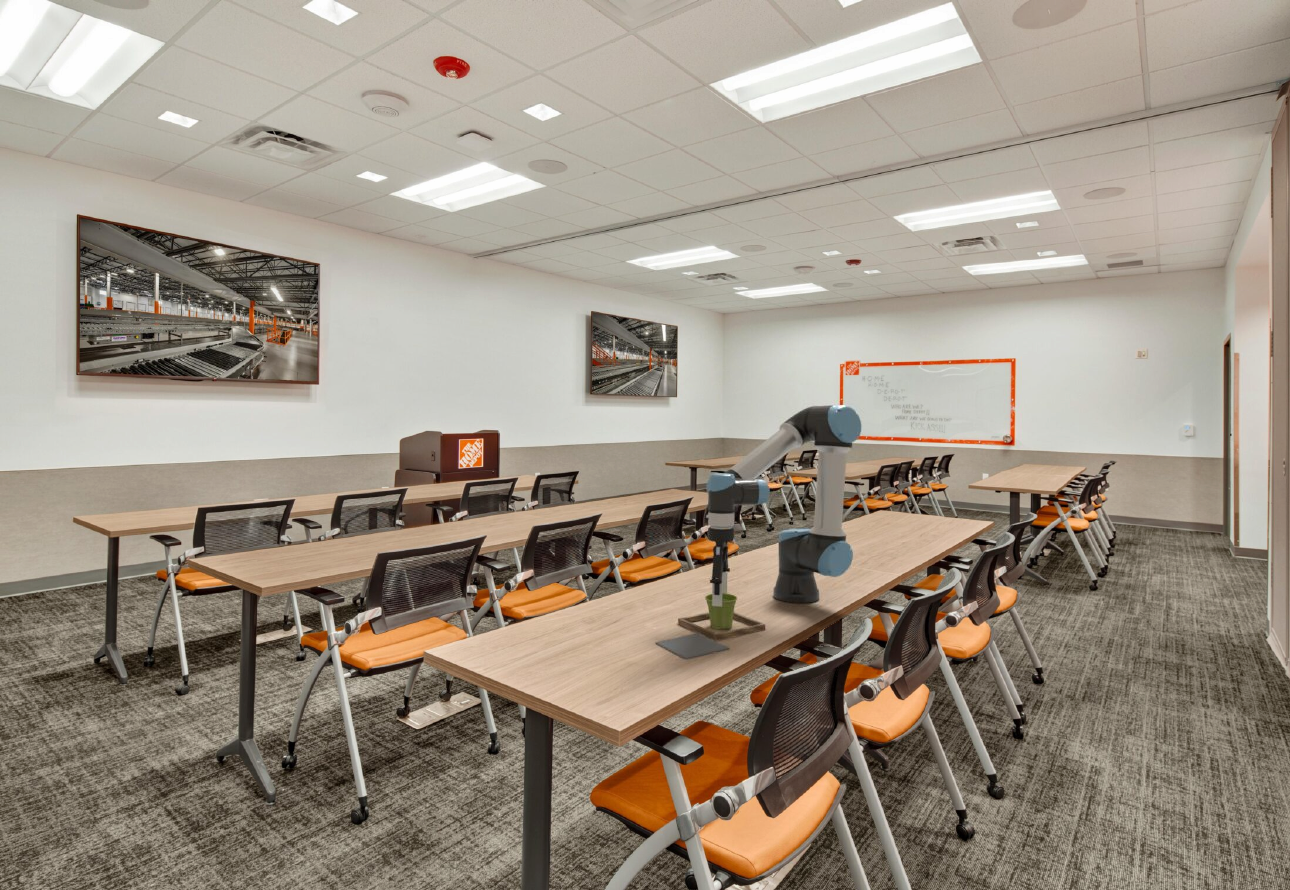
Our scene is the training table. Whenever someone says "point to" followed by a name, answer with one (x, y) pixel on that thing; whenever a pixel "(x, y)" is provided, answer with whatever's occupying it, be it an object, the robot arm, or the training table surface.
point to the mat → (692, 646)
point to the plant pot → (721, 611)
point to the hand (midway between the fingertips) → (719, 599)
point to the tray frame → (753, 628)
